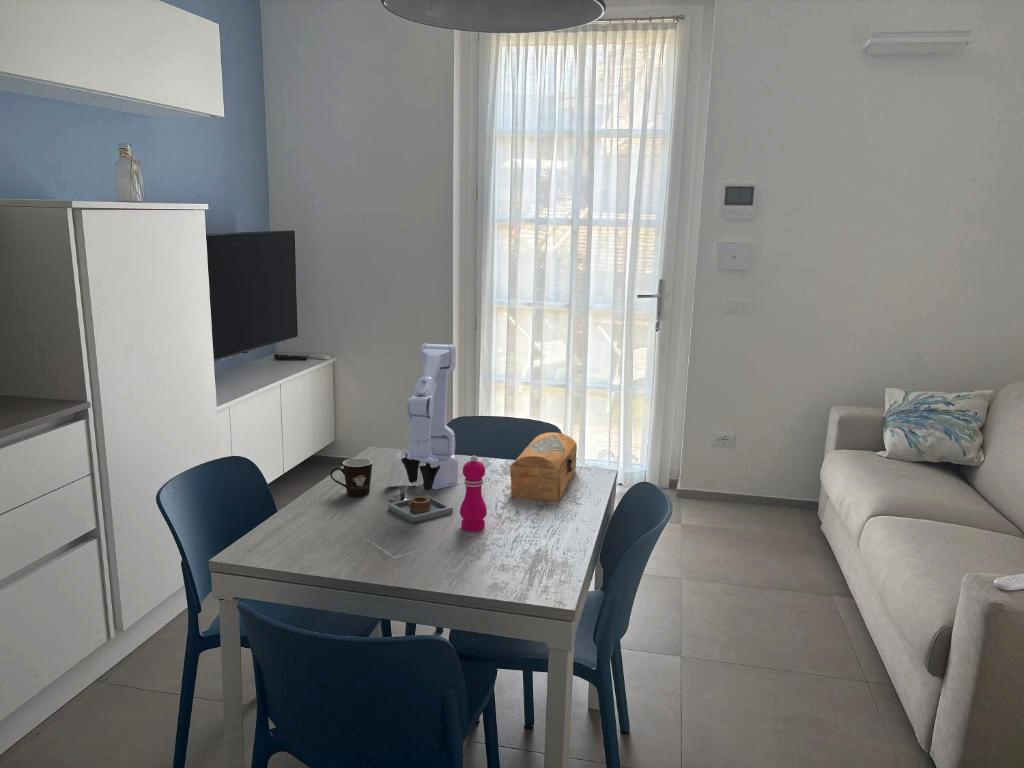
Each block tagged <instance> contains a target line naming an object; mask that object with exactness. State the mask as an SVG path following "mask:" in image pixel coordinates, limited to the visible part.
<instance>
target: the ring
mask: <svg viewBox="0 0 1024 768" xmlns="http://www.w3.org/2000/svg"><path fill="white" fill-rule="evenodd" d="M431 497H432V496H430V498H428V497H424V495H420V496H419V495H418V496H415V497H413V498H411V500H410V502H409V503H408V507H409V508H410V511H412V512H413V513H426V512H429V511H430V509H431V502H432V498H433V497H432V498H431Z"/></svg>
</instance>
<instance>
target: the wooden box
mask: <svg viewBox="0 0 1024 768" xmlns="http://www.w3.org/2000/svg"><path fill="white" fill-rule="evenodd" d="M577 446H578V445H577V443H576V441H575V440H574V439H573V438H572V437H571V436H569V435H567V434H565V433H560V432H544V433H540V434H539V435H537V436H536V437H535V438H533V440H532V441H531V442H530V443H529V444H528V445H527V446H526V447H525V449H524V450H523V451H522V452H521V454H519V456H518V457H517V458H516V459H515V460H514V462H513V463H511V465H510V471H509V473H510V494H511V496H510V497H511V498H517V499H526V500H527V499H528V500H534V499H535V501H536V500H537V501H543V500H544V501H543V502H553V501H555V503H560V502H561V500H562V498H563V496H564V494H565V492H566V490H565V489H567V488H568V486H569V484H570V482H571V480H572V479H573V477H574V475H575V473H576V468H577V453H578V451H577V450H578V447H577ZM573 474H574V475H573ZM572 476H573V477H572ZM571 478H572V479H571ZM569 481H570V482H569ZM568 483H569V484H568ZM567 485H568V486H567ZM566 487H567V488H566ZM564 491H565V492H564ZM563 493H564V494H563ZM562 495H563V496H562ZM561 497H562V498H561Z"/></svg>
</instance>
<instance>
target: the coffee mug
mask: <svg viewBox="0 0 1024 768" xmlns="http://www.w3.org/2000/svg"><path fill="white" fill-rule="evenodd" d="M342 466H343V468H341V467H335V468H333V469H332V470H330V472H329V473H330V474H329V475H330V478H331V479H332V480H333V481H334V482H335V483H337V484H338V485H340V486H342V487H344V488H345V490H346V493H347V494H346V495H347V496H348V497H350V498H365V497H366V496H369V495H370V490H371V489H370V488H371V479H372V472H373V471H372V470H373V460H372V459H369V458H367V457H364V458H363V457H356V458H355V457H354V458H353V457H352V458H348V459H345V460H344V461H342ZM337 470H338V471H340V472H341V473H342V474H343V475H344V481H345V484H344V483H343V482H341V481H338V480H337V479H335V478H334V477H333V473H334V471H337Z"/></svg>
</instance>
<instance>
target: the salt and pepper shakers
mask: <svg viewBox="0 0 1024 768" xmlns="http://www.w3.org/2000/svg"><path fill="white" fill-rule="evenodd" d="M402 458H403V457H402V453H401V452H398V453H395V454H394V456H393V457H392V461H391V463H390V464H389V465H390V466H389V472H388V480H387V483H386V485H387V487H389V488H397V486H398V485H402V483H403V472H404V464H403V463H402V461H401V459H402ZM419 466H424V463H423V462H421V461H420V463H419ZM422 481H423V477H422V473H421V470H420V468H419V467H418V478H417V482H413V483H410V482H409V481H408V485H407V486H409V487H413V486H415V487H420V486H422V485H423V484H422Z"/></svg>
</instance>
